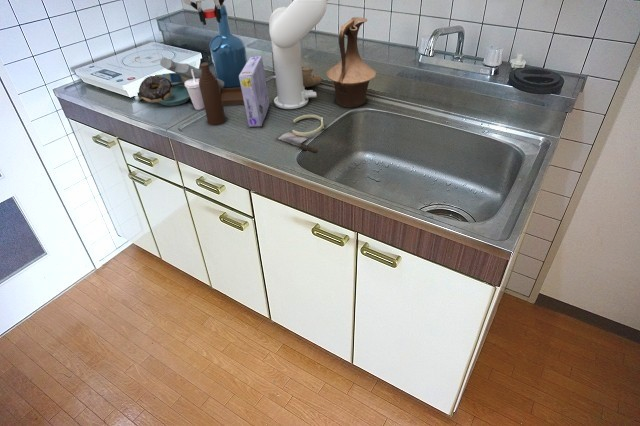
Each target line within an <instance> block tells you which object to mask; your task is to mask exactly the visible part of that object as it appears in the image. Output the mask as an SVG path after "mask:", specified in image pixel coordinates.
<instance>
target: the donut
mask: <svg viewBox="0 0 640 426" xmlns="http://www.w3.org/2000/svg"><path fill="white" fill-rule="evenodd" d="M172 85H173V83H171V82H170V81H169V80H168V79H167V78H165V77H162V76H150V75H149V76H147V77H145V78H144V79H143V80H142V81H141V83H140V85H139V88H138V94H139V96H140V98H142V100H144V101H145V102H149V103H159V102H160V101H163V100H165V99H167V98H168V97H169V96H170V95H171V93H172V89H173V86H172ZM154 87H159V88H154Z"/></svg>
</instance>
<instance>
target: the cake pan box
mask: <svg viewBox="0 0 640 426" xmlns="http://www.w3.org/2000/svg"><path fill="white" fill-rule="evenodd" d="M265 72H266V71H265V67H264V60H263V56H262V55H258V56H250V57H249V58H248V59H247V63H246V65H245V66H244V68H243V70H242V71H241V73H240V75H239V80H240V85H241V86H240V87H241V90H242V95H243V99H244V104H243V105H244V109H245V114H246V118H247V124H248V127H249V128H250V127H252V128H262V127H263V123H264V121H265V119H266V117H267V113H268V110H269V107H270V100H269V98H270V97H269V92H268V91H269V90H268V86H267V80H266V73H265Z"/></svg>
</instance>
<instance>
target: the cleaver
mask: <svg viewBox="0 0 640 426" xmlns="http://www.w3.org/2000/svg"><path fill="white" fill-rule="evenodd" d="M277 139H278V140H279V141H283V142H285V143H288V144H290V145H293V146H296V147H299V148H300V149H301V150H304V151H306V152H309V153H312V154H317V153H319V150H318V149H317V148H315V147H312V146H309V145H307V144H305V143H304V144H303V142H305V141H307V140H308V137H307V138H306V137H305V136H299V135H295V134H294V133H293V132H289V131H287V132H285V133H283V134H282V135H280V136H279V137H277Z"/></svg>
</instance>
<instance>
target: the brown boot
mask: <svg viewBox="0 0 640 426" xmlns="http://www.w3.org/2000/svg"><path fill="white" fill-rule="evenodd" d="M313 70H314V69H313V67H311V66H302V75H303V86H304V88H310V87H314V86H316V85H319V84H321V82H322V76H321V75H320V74H313V73H312V72H313ZM319 75H320V76H321V77H320V76H319Z"/></svg>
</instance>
